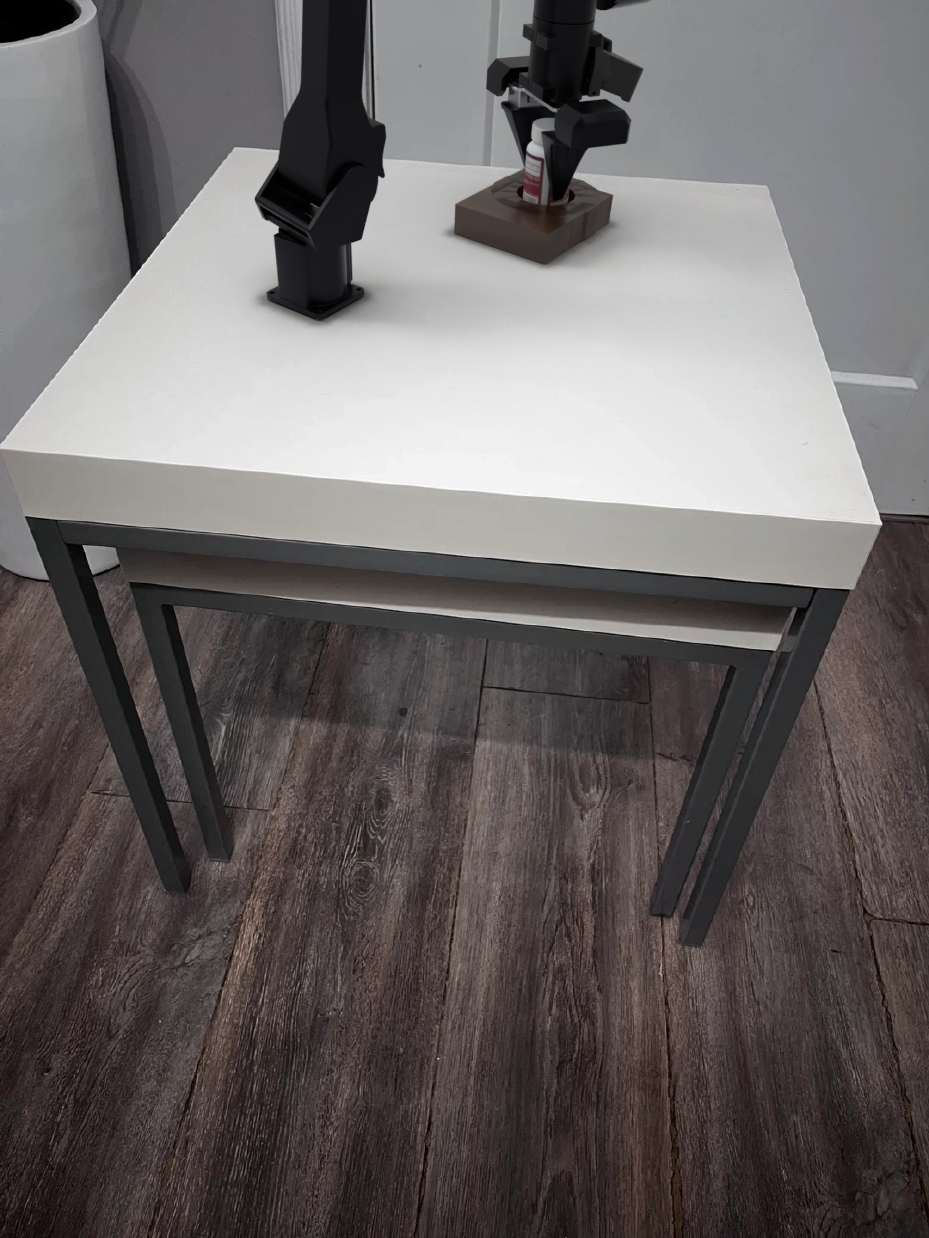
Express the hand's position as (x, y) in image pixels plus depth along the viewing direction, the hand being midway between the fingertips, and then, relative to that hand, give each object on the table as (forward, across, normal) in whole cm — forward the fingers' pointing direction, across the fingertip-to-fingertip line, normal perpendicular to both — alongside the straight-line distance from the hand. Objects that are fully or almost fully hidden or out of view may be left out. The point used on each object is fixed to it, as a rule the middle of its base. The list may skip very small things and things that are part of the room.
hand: (545, 190), depth 100 cm
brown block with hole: (+3, -1, +2) cm, 4 cm away
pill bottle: (+2, 0, 0) cm, 2 cm away
